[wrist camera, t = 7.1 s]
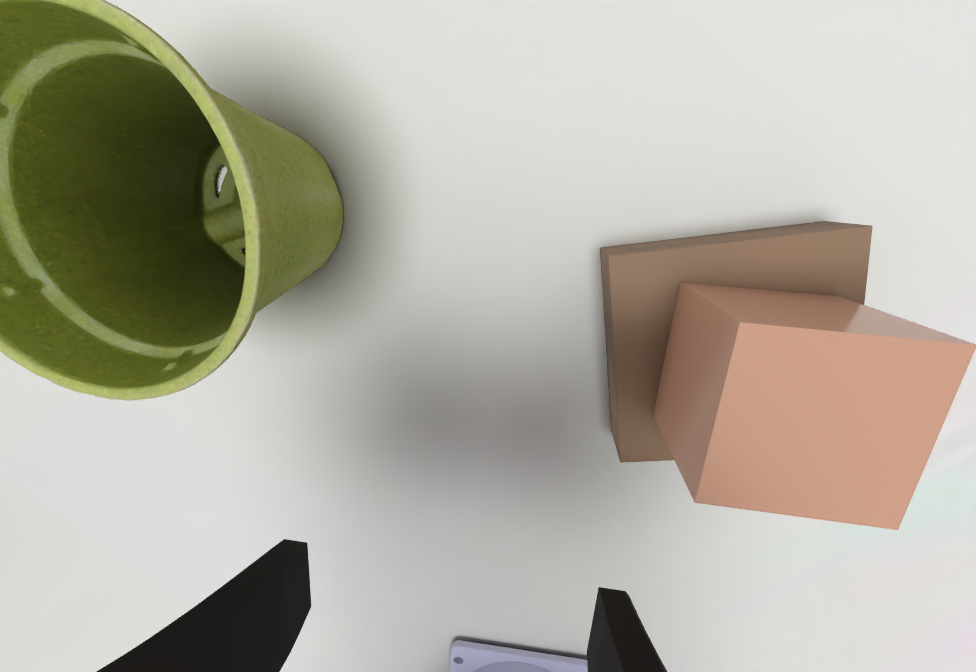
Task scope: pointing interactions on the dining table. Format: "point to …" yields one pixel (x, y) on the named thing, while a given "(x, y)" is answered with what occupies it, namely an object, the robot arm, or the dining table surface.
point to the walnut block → (713, 261)
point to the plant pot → (139, 205)
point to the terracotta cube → (803, 402)
